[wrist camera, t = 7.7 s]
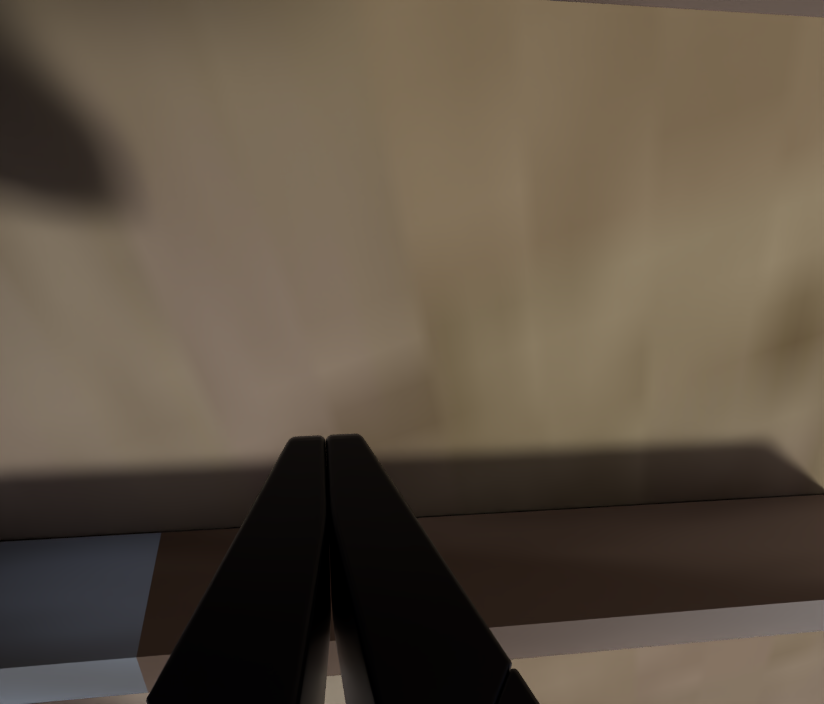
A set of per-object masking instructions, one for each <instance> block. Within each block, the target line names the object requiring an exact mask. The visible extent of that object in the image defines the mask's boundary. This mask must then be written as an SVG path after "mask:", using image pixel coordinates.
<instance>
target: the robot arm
mask: <svg viewBox="0 0 824 704" xmlns="http://www.w3.org/2000/svg"><path fill="white" fill-rule="evenodd" d="M326 463H327V466H326ZM329 550H330V552H329ZM330 576H331V586H330ZM331 601H332V616H333V624H334V632H335V639H336V645H337V652H338V658H339V664H340V670H341V676H342V683H343V689H344V695H345V701H346V704H539V702H538V701H537V699H536V698H535V696H534V695H533V693H532V692H531V690H530V689H529V687H528V686H527V684H526V682H525V681H524V679H523V678H522V676H521V675H520V673H519V672H518V671H517V670H516V669H511V666H512V663H511V660H510V659H509V657H508V656H507V654H506V653H505V651H504V650H503V648H502V647H501V645H500V644H499V642H498V641H497V639H496V638H495V636H494V635H493V633H492V632H491V630H490V629H489V627H488V626H487V624H486V623H485V621H484V620H483V618H482V617H481V615H480V614H479V612H478V611H477V609H476V607H475V606H474V604H473V603H472V601H471V600H470V598H469V597H468V595H467V594H466V592H465V591H464V589H463V588H462V586H461V585H460V583H459V582H458V580H457V579H456V577H455V576H454V574H453V573H452V571H451V570H450V568H449V567H448V565H447V564H446V562H445V561H444V559H443V558H442V556H441V555H440V553H439V552H438V550H437V549H436V547H435V545H434V544H433V542H432V541H431V539H430V538H429V536H428V535H427V533H426V532H425V530H424V529H423V527H422V526H421V524H420V523H419V521H418V520H417V518H416V517H415V515H414V514H413V512H412V511H411V509H410V508H409V506H408V505H407V503H406V502H405V500H404V499H403V497H402V496H401V494H400V493H399V491H398V490H397V488H396V487H395V485H394V483H393V482H392V480H391V479H390V477H389V476H388V474H387V473H386V471H385V470H384V468H383V467H382V465H381V464H380V462H379V461H378V459H377V458H376V456H375V455H374V453H373V452H372V450H371V449H370V447H369V446H368V444H367V443H366V441H365V440H364V438H363V437H362V436H361V435H359V434H337V435H330V436H328V437H327V439H326V442H325V439H324V437H322V436H319V435H317V436H298V437H292V438H291V439H289V441H288V442H287V443H286V445H285V447H284V449H283V451H282V453H281V454H280V456H279V458H278V460H277V462H276V463H275V465H274V467H273V469H272V471H271V473H270V474H269V476H268V478H267V480H266V482H265V484H264V485H263V487H262V489H261V491H260V493H259V494H258V496H257V498H256V500H255V502H254V504H253V505H252V507H251V509H250V511H249V513H248V515H247V516H246V518H245V520H244V522H243V524H242V526H241V527H240V529H239V531H238V533H237V535H236V536H235V538H234V540H233V542H232V544H231V546H230V547H229V549H228V551H227V553H226V555H225V557H224V558H223V560H222V562H221V564H220V566H219V567H218V569H217V571H216V573H215V575H214V577H213V578H212V580H211V582H210V584H209V586H208V588H207V589H206V591H205V593H204V595H203V597H202V598H201V600H200V602H199V604H198V606H197V608H196V609H195V611H194V613H193V615H192V617H191V619H190V620H189V622H188V624H187V626H186V628H185V630H184V631H183V633H182V635H181V637H180V639H179V640H178V642H177V644H176V646H175V648H174V650H173V651H172V653H171V655H170V657H169V659H168V661H167V662H166V664H165V666H164V668H163V670H162V671H161V673H160V675H159V677H158V679H157V681H156V682H155V684H154V686H153V688H152V690H151V692H150V693H149V695H148V697H147V700H146V702H147V704H324V701H325V689H326V677H327V666H328V654H329V642H330V626H331ZM510 669H511V670H510Z"/></svg>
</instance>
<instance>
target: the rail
mask: <svg viewBox="0 0 824 704" xmlns="http://www.w3.org/2000/svg"><path fill="white" fill-rule="evenodd" d="M552 1H568V2H585V3H601V4H617V5H633V6H649V7H665V8H681V9H697V10H713V11H729V12H745V13H762V14H778V15H794V16H810V17H824V0H552ZM417 520H418V521H419V523H420V524H421V526H422V527H423V529H424V530H425V532H426V533H427V535H428V536H429V538H430V539H431V541H432V542H433V544H434V545H435V547H436V549H437V550H438V552H439V553H440V555H441V556H442V558H443V559H444V561H445V562H446V564H447V565H448V567H449V568H450V570H451V571H452V573H453V574H454V576H455V577H456V579H457V580H458V582H459V583H460V585H461V586H462V588H463V589H464V591H465V592H466V594H467V595H468V597H469V598H470V600H471V601H472V603H473V604H474V606H475V607H476V609H477V611H478V612H479V614H480V615H481V617H482V618H483V620H484V621H485V623H486V624H487V626H488V627H489V629H490V630H491V632H492V633H493V635H494V636H495V638H496V639H497V641H498V642H499V644H500V645H501V647H502V648H503V650H504V651H505V653H506V654H507V656H508V657H509V659H520V658H531V657H542V656H553V655H563V654H574V653H585V652H596V651H607V650H618V649H629V648H640V647H651V646H662V645H673V644H684V643H695V642H705V641H716V640H727V639H738V638H749V637H760V636H771V635H782V634H793V633H804V632H815V631H824V495H808V496H790V497H773V498H756V499H738V500H721V501H703V502H686V503H669V504H651V505H634V506H616V507H599V508H582V509H564V510H547V511H529V512H512V513H495V514H477V515H460V516H442V517H425V518H417ZM239 529H240V528H234V529H216V530H199V531H181V532H164V533H147V534H129V535H112V536H94V537H77V538H60V539H42V540H25V541H7V542H0V704H28V703H39V702H50V701H61V700H72V699H83V698H94V697H105V696H116V695H127V694H138V693H149V692H151V690H152V688H153V686H154V684H155V682H156V681H157V679H158V677H159V675H160V673H161V671H162V670H163V668H164V666H165V664H166V662H167V661H168V659H169V657H170V655H171V653H172V651H173V650H174V648H175V646H176V644H177V642H178V640H179V639H180V637H181V635H182V633H183V631H184V630H185V628H186V626H187V624H188V622H189V620H190V619H191V617H192V615H193V613H194V611H195V609H196V608H197V606H198V604H199V602H200V600H201V598H202V597H203V595H204V593H205V591H206V589H207V588H208V586H209V584H210V582H211V580H212V578H213V577H214V575H215V573H216V571H217V569H218V567H219V566H220V564H221V562H222V560H223V558H224V557H225V555H226V553H227V551H228V549H229V547H230V546H231V544H232V542H233V540H234V538H235V536H236V535H237V533H238V531H239ZM329 552H330V550H329ZM330 586H331V576H330ZM334 675H341V670H340V664H339V658H338V652H337V645H336V639H335V632H334V624H333V616H332V601H331V626H330V642H329V654H328V666H327V676H334Z"/></svg>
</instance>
